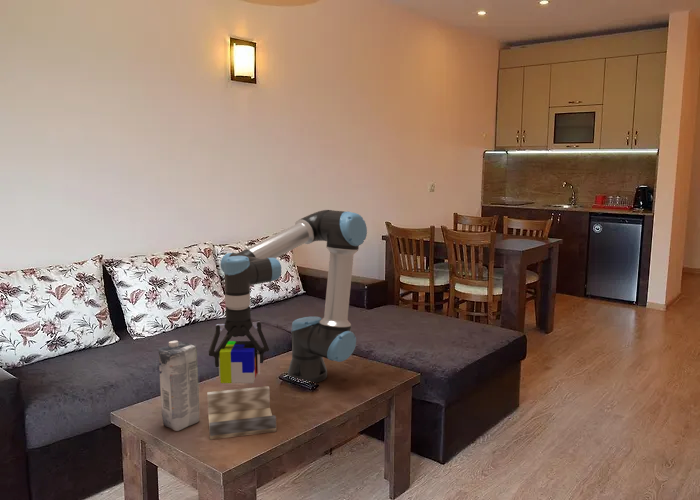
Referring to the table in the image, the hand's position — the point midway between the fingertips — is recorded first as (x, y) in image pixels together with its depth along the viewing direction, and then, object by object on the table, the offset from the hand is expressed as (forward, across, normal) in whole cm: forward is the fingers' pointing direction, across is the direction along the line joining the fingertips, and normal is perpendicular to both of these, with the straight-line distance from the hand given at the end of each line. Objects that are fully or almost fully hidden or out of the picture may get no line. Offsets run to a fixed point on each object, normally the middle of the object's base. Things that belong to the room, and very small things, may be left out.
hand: (239, 374), depth 183 cm
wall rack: (+17, 0, -1) cm, 17 cm away
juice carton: (+17, +18, -6) cm, 26 cm away
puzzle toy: (+1, 0, 0) cm, 1 cm away
